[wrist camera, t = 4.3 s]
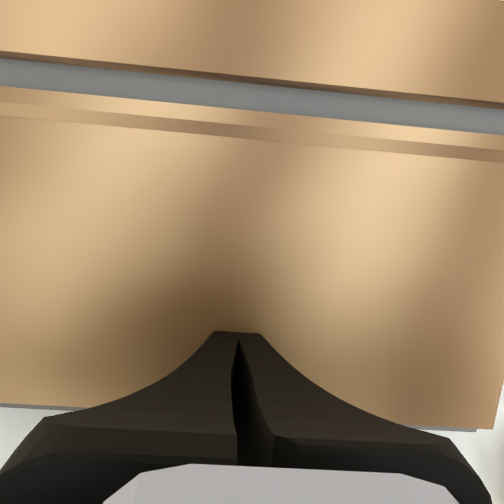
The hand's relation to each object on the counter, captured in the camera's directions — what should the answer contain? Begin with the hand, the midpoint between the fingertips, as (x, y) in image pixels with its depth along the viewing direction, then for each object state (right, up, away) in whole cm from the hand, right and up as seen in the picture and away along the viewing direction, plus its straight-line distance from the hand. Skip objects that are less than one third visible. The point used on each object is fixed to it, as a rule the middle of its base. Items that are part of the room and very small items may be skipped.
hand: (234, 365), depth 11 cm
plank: (0, +3, 0) cm, 3 cm away
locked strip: (+1, +8, -1) cm, 9 cm away
